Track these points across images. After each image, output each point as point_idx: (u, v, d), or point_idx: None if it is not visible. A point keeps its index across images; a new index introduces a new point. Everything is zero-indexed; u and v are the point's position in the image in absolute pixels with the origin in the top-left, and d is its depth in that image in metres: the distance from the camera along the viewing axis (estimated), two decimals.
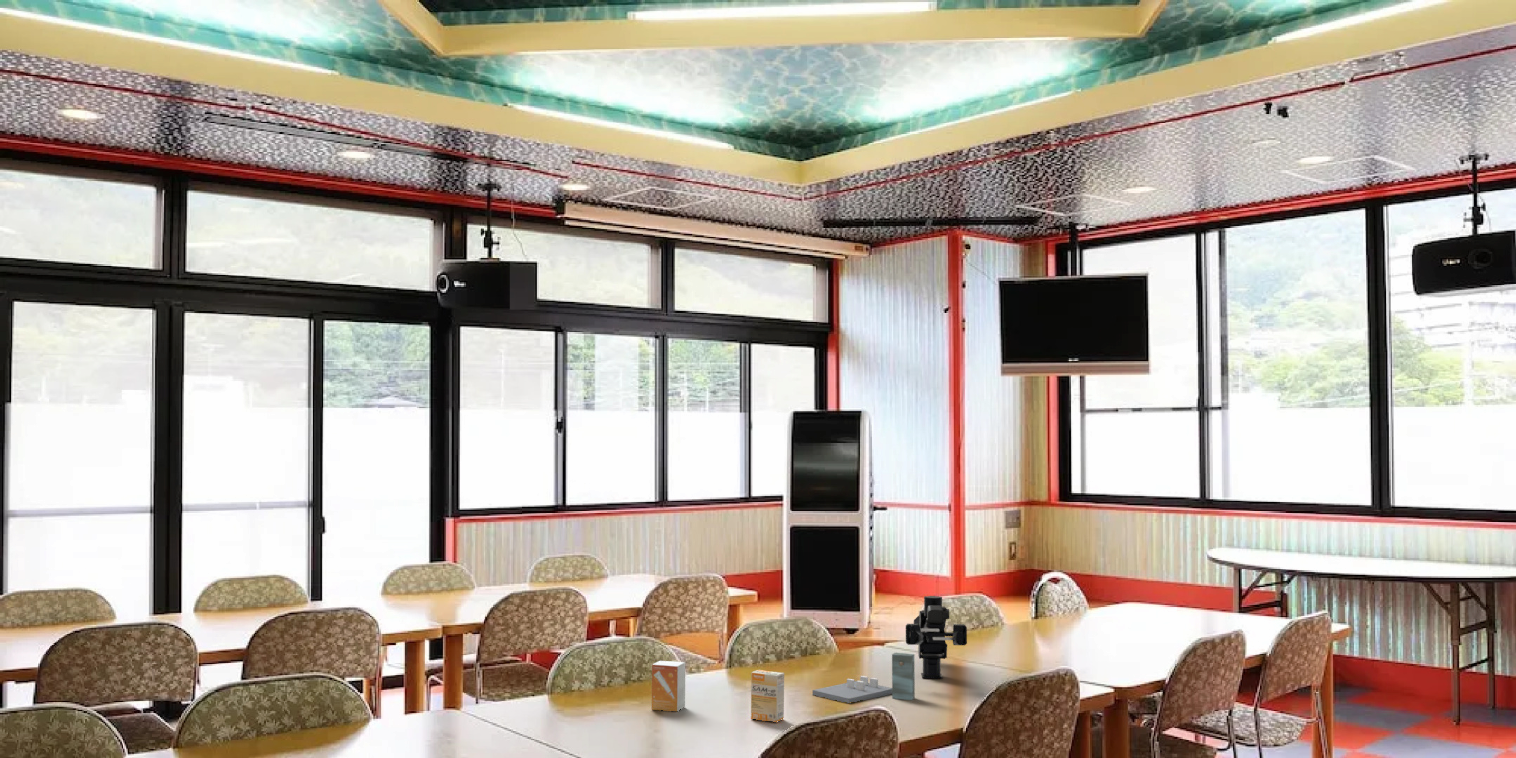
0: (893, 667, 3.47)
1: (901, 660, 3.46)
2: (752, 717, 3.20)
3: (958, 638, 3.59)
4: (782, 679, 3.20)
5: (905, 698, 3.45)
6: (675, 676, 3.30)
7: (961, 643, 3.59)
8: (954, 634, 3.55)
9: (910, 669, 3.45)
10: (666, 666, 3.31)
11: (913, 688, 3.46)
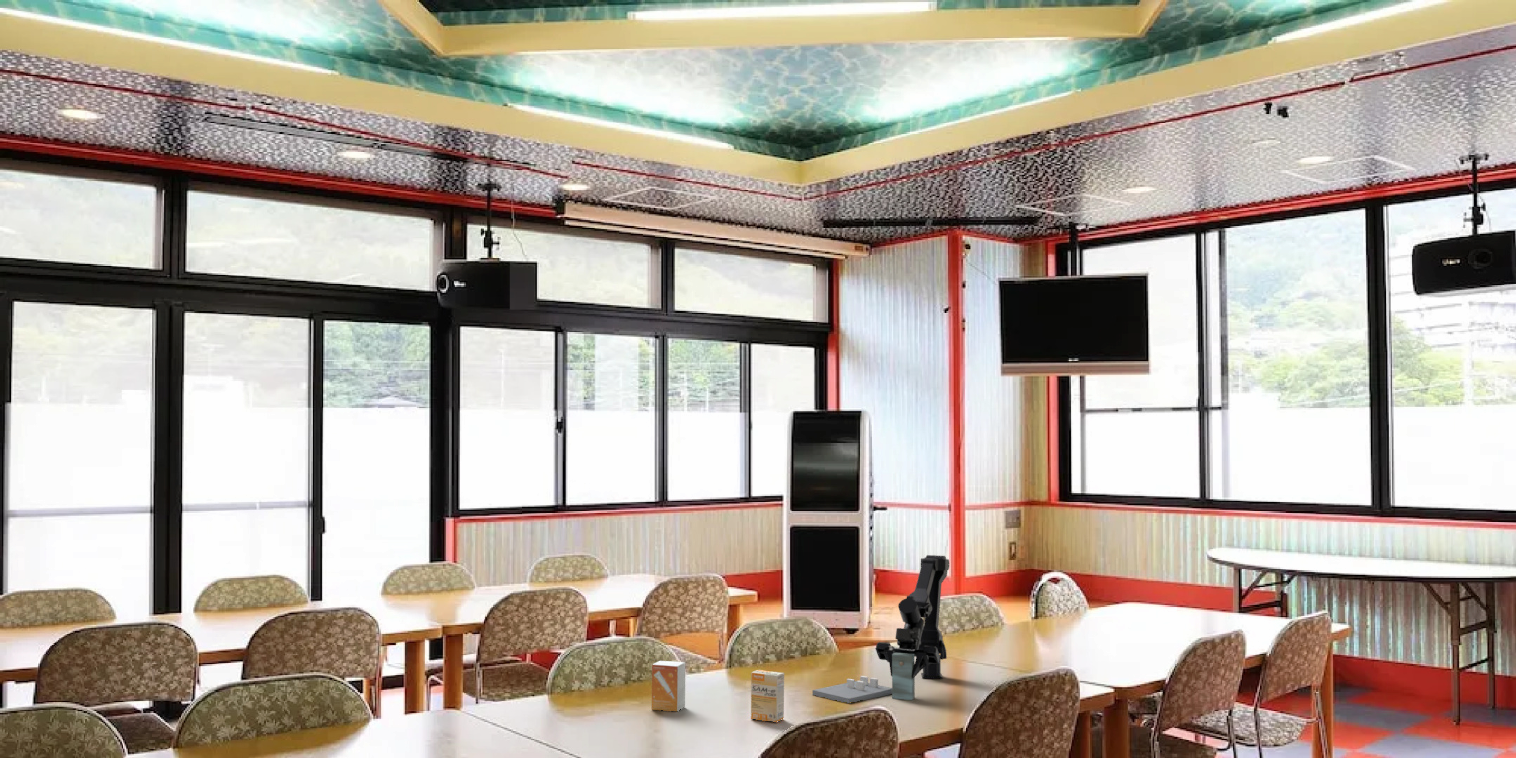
0: (893, 667, 3.47)
1: (901, 660, 3.46)
2: (752, 717, 3.20)
3: (923, 661, 3.49)
4: (782, 679, 3.20)
5: (905, 698, 3.45)
6: (675, 676, 3.30)
7: (927, 664, 3.49)
8: (914, 668, 3.46)
9: (910, 669, 3.45)
10: (666, 666, 3.31)
11: (913, 688, 3.46)
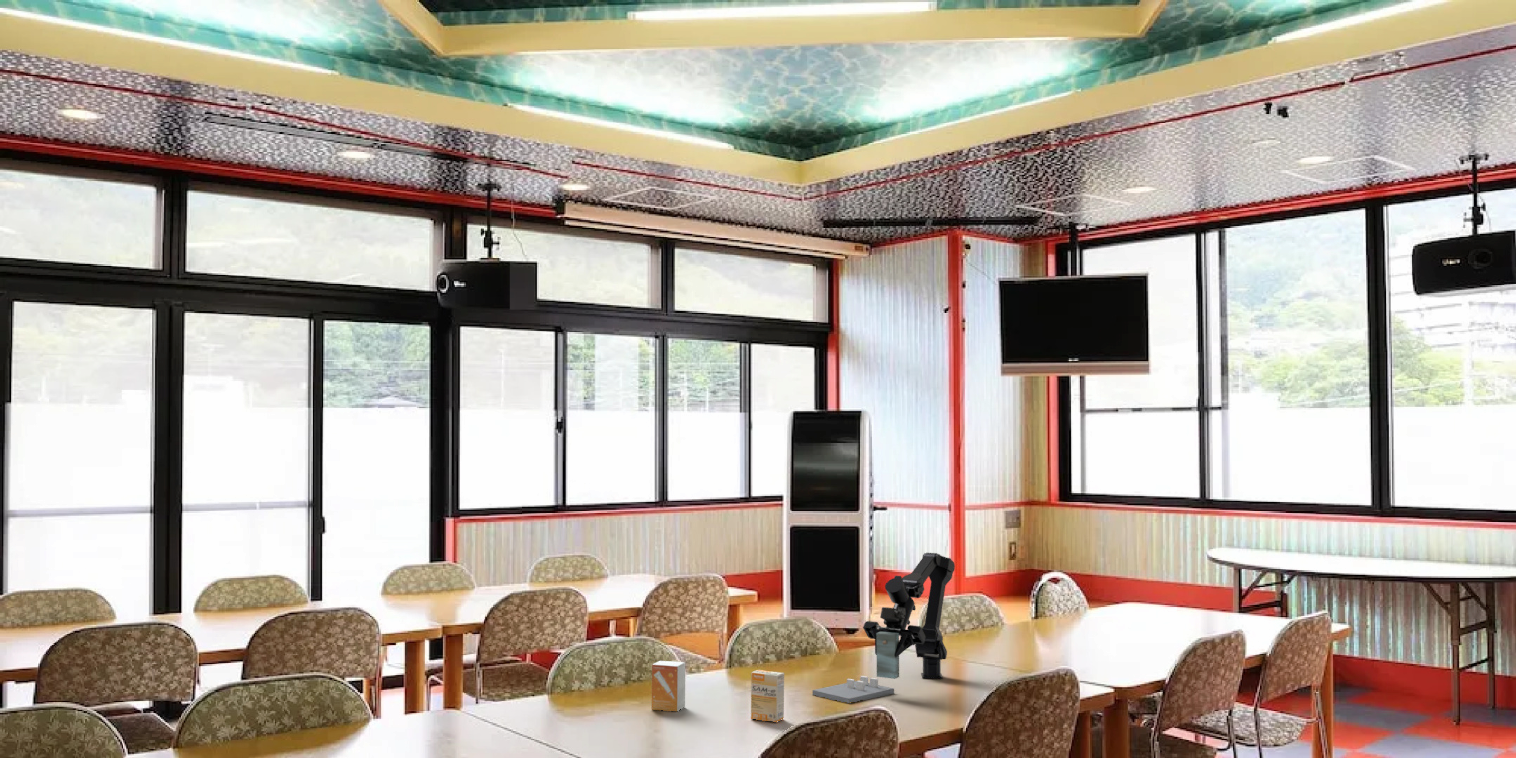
0: (877, 646, 3.50)
1: (884, 639, 3.49)
2: (752, 717, 3.20)
3: (908, 640, 3.50)
4: (782, 679, 3.20)
5: (889, 677, 3.48)
6: (675, 676, 3.30)
7: (913, 644, 3.51)
8: (898, 647, 3.48)
9: (893, 648, 3.47)
10: (666, 666, 3.31)
11: (897, 666, 3.48)
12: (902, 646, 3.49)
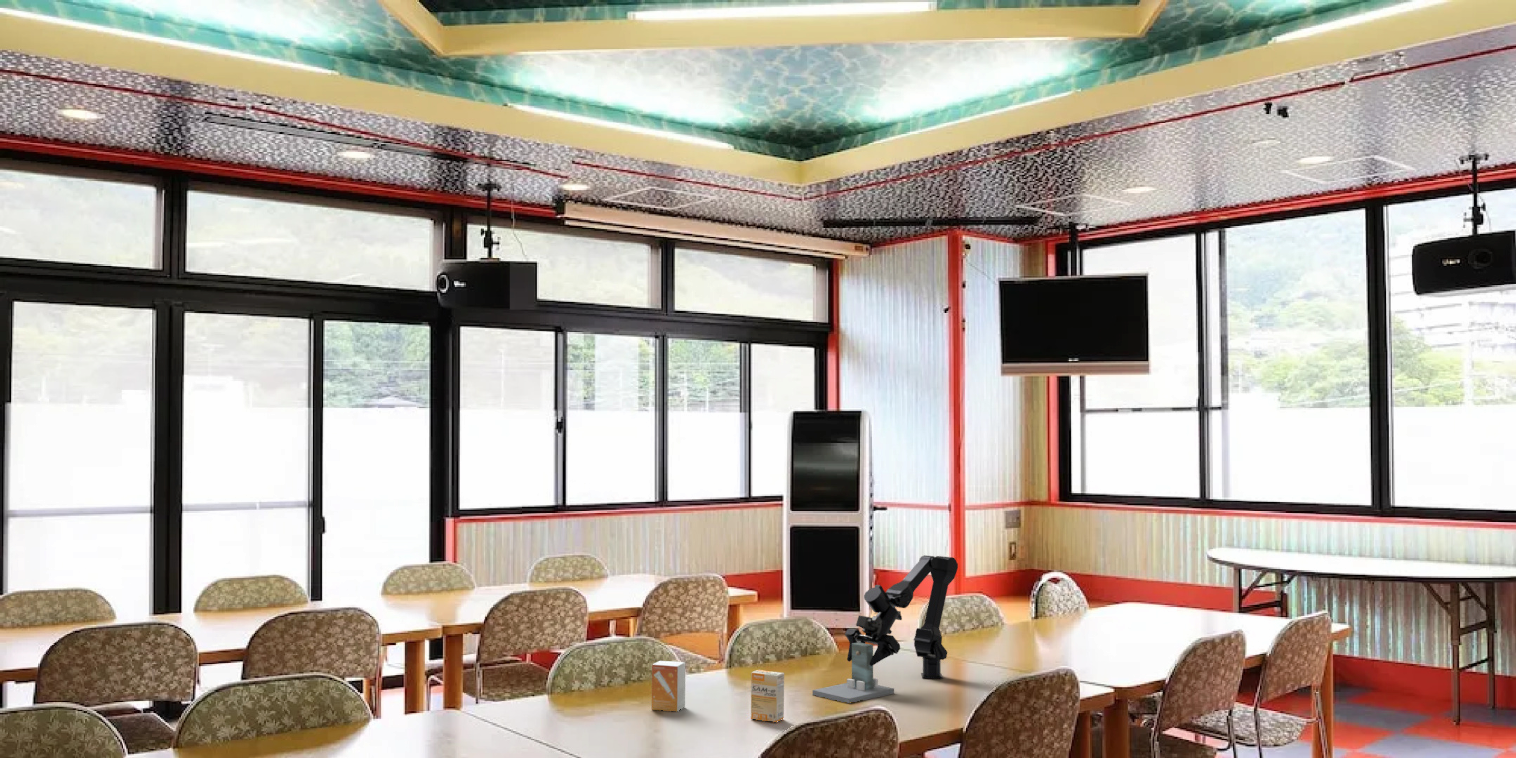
0: (852, 656, 3.56)
1: (858, 650, 3.54)
2: (752, 717, 3.20)
3: (886, 650, 3.53)
4: (782, 679, 3.20)
5: None
6: (675, 676, 3.30)
7: (891, 654, 3.53)
8: (874, 656, 3.51)
9: (865, 659, 3.52)
10: (666, 666, 3.31)
11: (870, 678, 3.53)
12: (878, 655, 3.52)
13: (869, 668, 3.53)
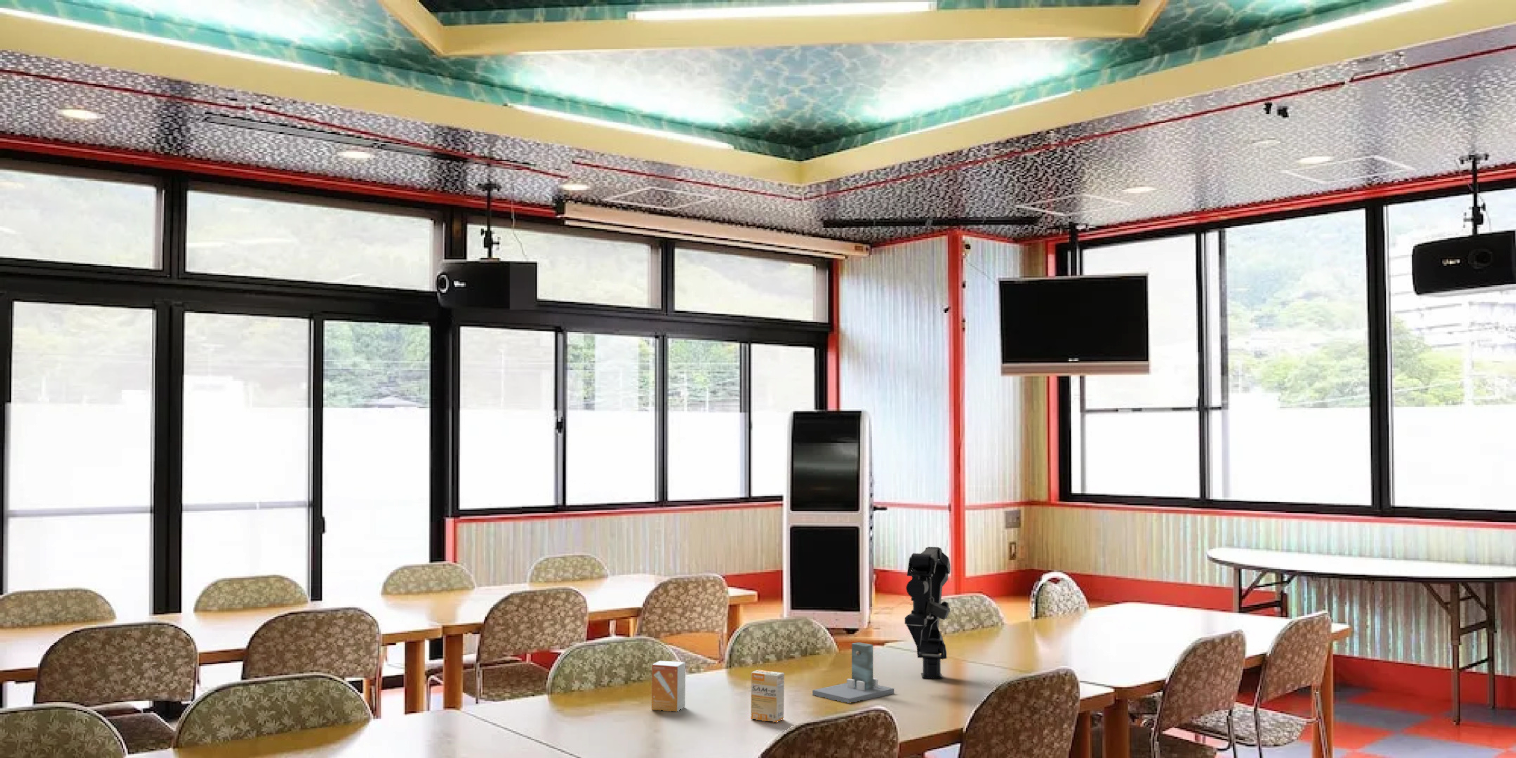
0: (852, 656, 3.56)
1: (858, 650, 3.54)
2: (752, 717, 3.20)
3: None
4: (782, 679, 3.20)
5: None
6: (675, 676, 3.30)
7: None
8: (929, 633, 3.68)
9: (865, 659, 3.52)
10: (666, 666, 3.31)
11: (870, 678, 3.53)
12: None
13: (869, 668, 3.53)
